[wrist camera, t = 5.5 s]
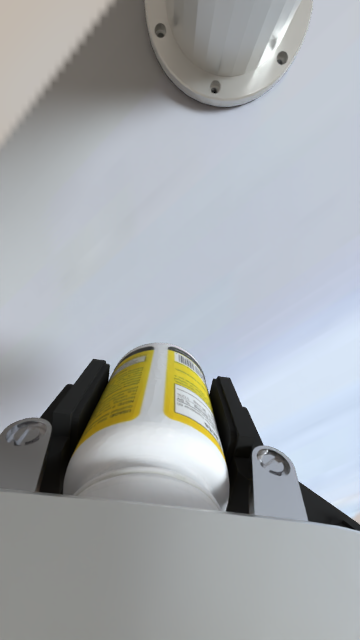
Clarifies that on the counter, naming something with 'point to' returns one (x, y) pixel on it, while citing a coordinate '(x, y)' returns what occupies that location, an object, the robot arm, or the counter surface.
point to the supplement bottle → (152, 436)
